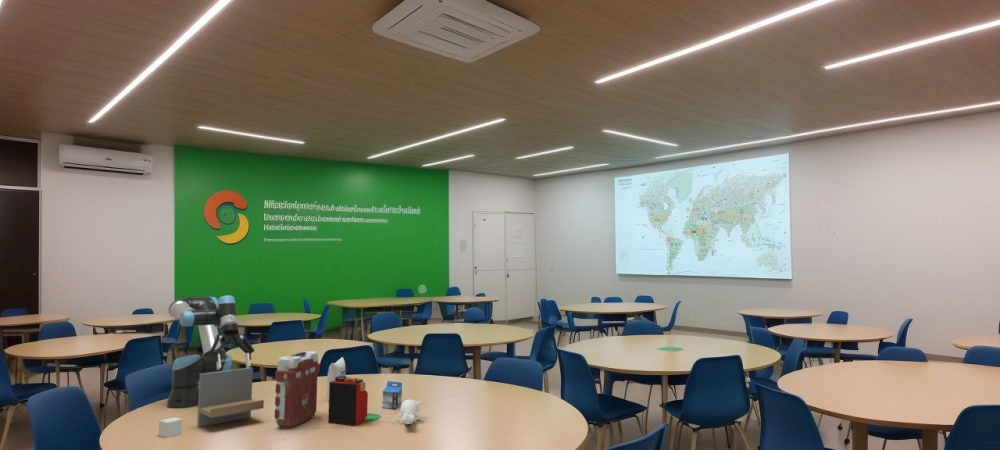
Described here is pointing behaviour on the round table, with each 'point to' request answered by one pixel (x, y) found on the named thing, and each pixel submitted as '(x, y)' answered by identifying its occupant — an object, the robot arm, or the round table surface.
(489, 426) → the round table surface
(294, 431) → the round table surface
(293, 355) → the first aid kit
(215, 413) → the board
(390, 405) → the label tape cartridge
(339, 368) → the pouch
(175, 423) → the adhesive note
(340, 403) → the radio
